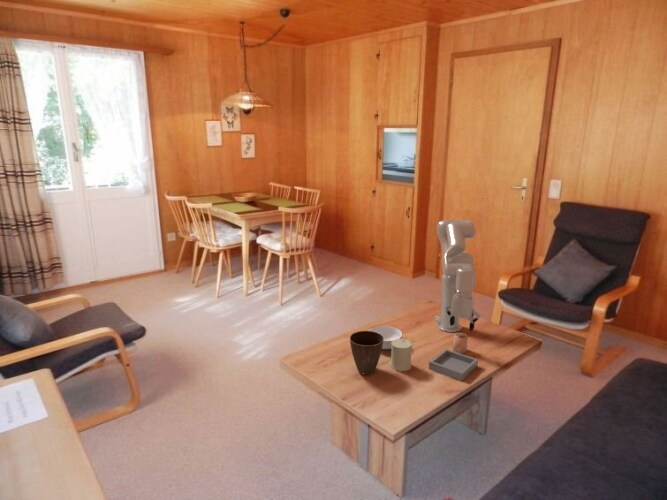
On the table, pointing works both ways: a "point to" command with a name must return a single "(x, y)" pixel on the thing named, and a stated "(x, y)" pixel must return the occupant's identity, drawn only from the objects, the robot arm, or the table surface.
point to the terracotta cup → (460, 343)
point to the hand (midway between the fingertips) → (461, 327)
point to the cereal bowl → (387, 335)
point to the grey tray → (453, 364)
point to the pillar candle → (401, 354)
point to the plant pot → (366, 350)
